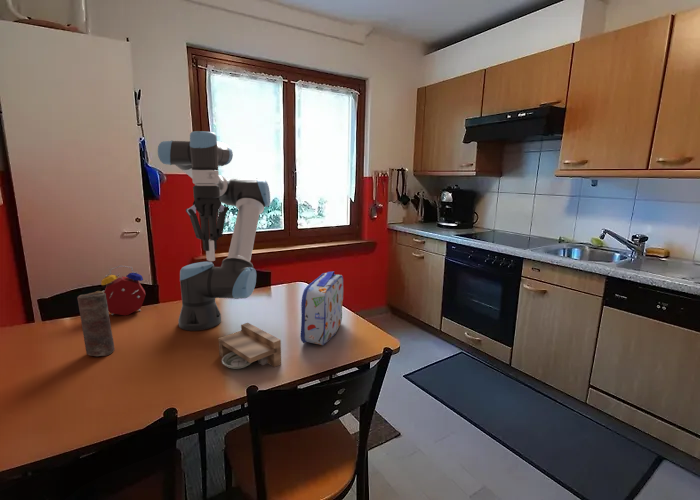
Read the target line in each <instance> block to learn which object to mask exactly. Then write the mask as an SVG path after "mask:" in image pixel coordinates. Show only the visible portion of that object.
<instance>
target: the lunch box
mask: <svg viewBox="0 0 700 500" xmlns="http://www.w3.org/2000/svg"><path fill="white" fill-rule="evenodd" d="M343 300H344V276H343V275H342V274H335V271H327V272H322V273H321V274H320V275H319V276H318V277H317V278H315V279H314V280H312V282H310V283H309V284H307V285H306V287H305V288H304V290H303V292H302V297H301V304H300V306H301V307H300V308H301V309H300V311H301V314H300V315H301V317H300V318H301V319H300V320H301V322H300V336H299V337H300V340H301V342H302V343H303V344H304V343H309V344H316V345H320V346H324V345H326V343H328V342H329V340H331V339H332V338H333V336H335V335H336V334H337V331H338V329H339V328H340V327H341V324H342V320H343V302H344V301H343Z"/></svg>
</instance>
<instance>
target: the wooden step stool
mask: <svg viewBox="0 0 700 500" xmlns="http://www.w3.org/2000/svg"><path fill="white" fill-rule="evenodd" d="M240 326H241V327H240V329H241V330H239V331H238V330H237V331H235V332H233V333H230V334H227V335H224V336H221V337H218V350H219V351H218V352H219V356H220V357H221V359H222V358H223V357H224V356H225V355H227V354H228V353H231V352H234V353H236V354H237V355H239V356H240V357H242V358H243V359H245V360H246V361H248V362H249V363H251V364H252V363H254V362H256V361H257V363H258V364H260V365H261V366H264V365H266V364H269V365H270V366H272V367H274V368H276V367H278V366H280V365H282V340H281V339H280V338H278V337H276V336H274V335H272V334H270V332H269V333H268V332H267V331H264V330H263V329H261V328H259V327H257V326H255V325H253V324H251V323H249V322H246V323H242V324H241V325H240Z"/></svg>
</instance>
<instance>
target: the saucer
mask: <svg viewBox="0 0 700 500" xmlns="http://www.w3.org/2000/svg"><path fill="white" fill-rule="evenodd" d="M221 364H222V365H223V366H225V367H227V368H229V369H232V370H233V369H235V370H240V369H241V370H242V369H243V368H246V367H248V366H250V365H251V364H252V363H249V362H248V361H246V360H245V359H243V358H242V357H240V356H239V355H237V354H236V353H234V352H231V353H228V354H227V355H225V356H224V357H223V358H222V357H221Z"/></svg>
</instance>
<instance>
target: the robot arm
mask: <svg viewBox="0 0 700 500" xmlns="http://www.w3.org/2000/svg"><path fill="white" fill-rule="evenodd" d="M233 153H234V152H233V150H232V148H231V146H229V145H228V144H226V143H225V142H222V141H218V139H217V134H216V133H215V132H212V131H203V130H201V131H200V130H195V131H194V130H193V131H191V132H190V134H189V140H163V141H160V143H158V146H157V155H158V160H159V161H160V162H161V163H162V164H163V165H169V166H173V165H174V166H176V167H177V168H179V169H180V170H181V171H183V172H184V173H185V174H186V175H188V177H190V178H191V179H192V183H193V184H194V185H193V186H192V191H193V202H192V206H190V207H189V208H188V207H187V208H186V209H185V213H187V215H188V216H189V220H190V222H191V226H192V229H193V231H194V234H195V235H194V236H195V237H196V238H197V239H198V240H201V241H202V249H203V251H205V257H206V261H200V262H194V263H193V262H192V263H190V264H187V265H185V266H182V267H181V269H180V270H179V282H180V283H179V284H180V292H181V293H180V294H181V303H182V305H181V309H180V314H179V316H178V319H177V320H178V328H180V329H182V330H184V331H195V332H196V331H203V330H204V331H205V330H208V329H211V328H214V327H217V326H219V324H221V322H222V314H221V312H220V310H219V307H218V305H217V302H216V299H233V300H239V299H248V298H250V296H252V294H253V293H254V290H255V287H256V283H257V271H256V269H255V268H254V265H253V262H251V260H252V254H253V249H254V244H255V239H256V234H257V233H256V232H257V228H258V222H259V218H260V217H259V216H260V215H261V214H263V213H264V210H265V207H266V208H268V207H269V206H270V205H271V194H270V193H271V192H270V187H269V186H270V185H269V184H268V181H267V180H266V179H260V178H259V179H258V178H255V179H254V178H228V177H227V178H226V177H224V176H223V175H222V174H219V173H220V171H219V167H223V166H227V165H228V164H230V163H231V162H232V160H233V156H234V155H233ZM223 204H224V205H223ZM225 205H227V206H225ZM228 206H233V207H236V209H237V210H238V211H237V215H236V219H235V223H234V227H233V231H232V236H231V241H230V246H229V249H228V254H227V257H226V258H224V259H222V261H221V265H220V266H215V265H214V263H213V262H214V261H216V253H215V252H216V250H217V249H218V244H217V241H218V240H219V238H222V237H223V234H224V228H225V220H226V215H227V213H228V212H229V207H228ZM218 211H219V212H218ZM197 213H198V214H199V218H200V221H199V219H198V215H197ZM217 213H218V215H217Z"/></svg>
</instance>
